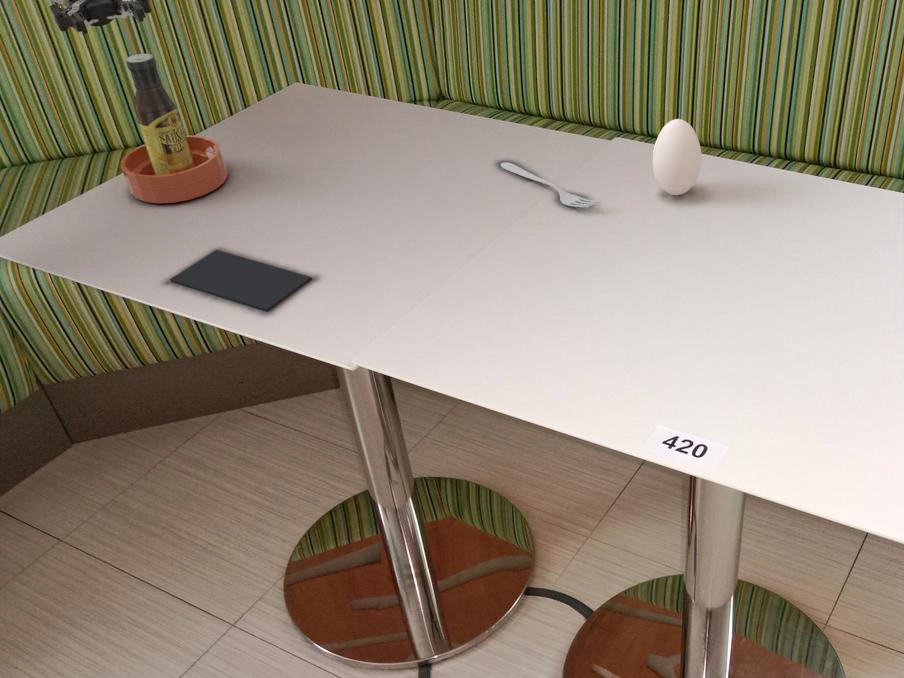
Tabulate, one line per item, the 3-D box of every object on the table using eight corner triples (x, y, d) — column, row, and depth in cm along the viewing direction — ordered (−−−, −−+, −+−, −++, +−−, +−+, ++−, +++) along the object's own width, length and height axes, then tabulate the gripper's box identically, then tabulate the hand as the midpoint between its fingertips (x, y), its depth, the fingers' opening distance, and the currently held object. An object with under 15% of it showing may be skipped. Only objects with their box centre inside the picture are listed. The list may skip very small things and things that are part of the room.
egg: (709, 195, 150) (713, 121, 142) (671, 209, 147) (672, 134, 139) (681, 178, 154) (682, 105, 147) (643, 191, 152) (642, 118, 144)
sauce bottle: (180, 193, 156) (137, 68, 142) (150, 187, 158) (105, 63, 144) (208, 175, 160) (168, 53, 147) (178, 170, 162) (137, 48, 149)
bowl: (132, 213, 152) (120, 183, 149) (132, 173, 163) (121, 145, 159) (231, 195, 156) (222, 165, 152) (225, 157, 166) (216, 129, 163)
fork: (510, 160, 161) (509, 150, 160) (603, 211, 147) (603, 200, 146) (494, 166, 160) (493, 156, 159) (587, 218, 146) (587, 207, 145)
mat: (170, 282, 136) (169, 279, 136) (217, 252, 142) (216, 249, 141) (267, 312, 129) (266, 309, 129) (312, 279, 135) (311, 276, 135)
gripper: (32, -20, 156) (54, 5, 145) (123, -37, 161) (149, -15, 151) (51, 28, 161) (74, 56, 150) (138, 10, 166) (165, 35, 156)
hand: (112, 20), depth 151 cm, fingers open, 8 cm apart
